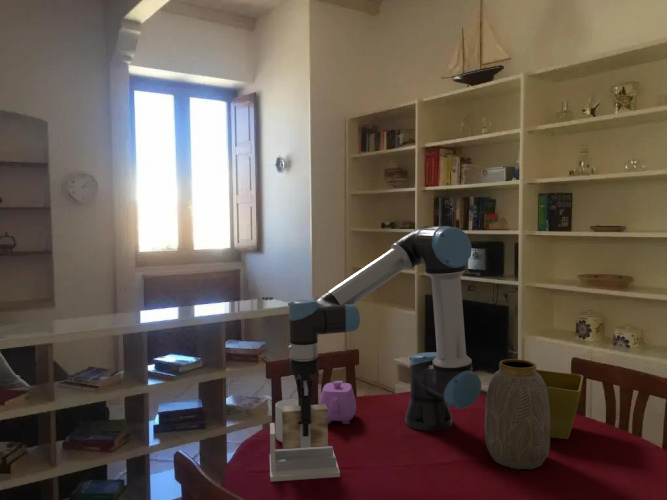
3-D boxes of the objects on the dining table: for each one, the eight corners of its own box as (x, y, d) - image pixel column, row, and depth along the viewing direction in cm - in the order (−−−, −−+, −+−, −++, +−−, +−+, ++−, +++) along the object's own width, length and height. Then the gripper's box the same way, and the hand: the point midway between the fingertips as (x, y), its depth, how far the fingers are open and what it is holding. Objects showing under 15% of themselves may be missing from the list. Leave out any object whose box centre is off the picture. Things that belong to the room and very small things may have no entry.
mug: (311, 445, 164) (311, 409, 163) (272, 442, 166) (271, 407, 165) (317, 434, 172) (316, 400, 171) (279, 432, 174) (279, 398, 173)
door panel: (326, 439, 152) (325, 404, 151) (327, 445, 147) (327, 409, 147) (282, 442, 150) (281, 406, 150) (283, 448, 146) (282, 411, 145)
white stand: (333, 454, 157) (332, 415, 157) (340, 476, 143) (339, 434, 143) (269, 458, 155) (269, 419, 154) (270, 481, 141) (269, 438, 140)
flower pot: (582, 425, 177) (583, 374, 176) (578, 447, 160) (579, 390, 159) (521, 416, 186) (521, 367, 185) (511, 436, 169) (511, 382, 168)
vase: (548, 451, 158) (550, 358, 157) (551, 477, 142) (553, 374, 140) (486, 443, 164) (487, 353, 162) (482, 468, 147) (483, 369, 146)
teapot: (322, 408, 195) (322, 373, 194) (357, 409, 194) (357, 374, 193) (314, 430, 175) (314, 390, 175) (353, 431, 174) (353, 392, 173)
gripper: (288, 350, 156) (289, 431, 157) (291, 366, 138) (292, 457, 140) (314, 349, 157) (315, 430, 158) (321, 365, 139) (322, 455, 141)
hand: (304, 443), depth 149 cm, fingers closed on door panel, 4 cm apart
